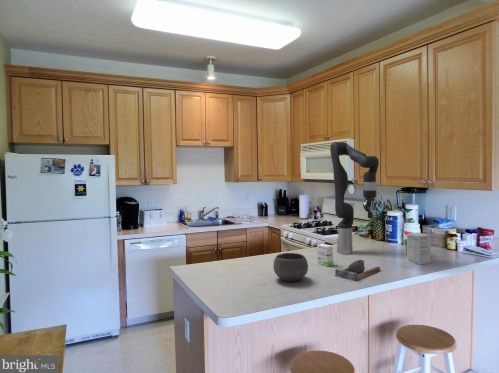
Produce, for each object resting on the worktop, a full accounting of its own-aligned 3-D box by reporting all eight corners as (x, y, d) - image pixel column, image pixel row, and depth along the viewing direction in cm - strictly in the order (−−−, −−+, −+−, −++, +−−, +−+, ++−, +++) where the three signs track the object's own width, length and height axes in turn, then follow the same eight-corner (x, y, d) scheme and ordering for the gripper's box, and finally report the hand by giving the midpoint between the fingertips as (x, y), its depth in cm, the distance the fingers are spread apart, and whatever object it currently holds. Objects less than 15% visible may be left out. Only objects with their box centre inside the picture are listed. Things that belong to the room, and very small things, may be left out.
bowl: (273, 274, 187) (272, 252, 186) (305, 274, 186) (305, 251, 186) (274, 285, 169) (273, 260, 169) (310, 285, 169) (310, 260, 168)
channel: (335, 275, 182) (335, 269, 182) (360, 266, 198) (360, 260, 198) (355, 281, 173) (355, 274, 172) (380, 270, 189) (380, 264, 189)
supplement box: (431, 263, 201) (431, 234, 200) (419, 265, 197) (419, 236, 196) (417, 259, 209) (417, 232, 208) (406, 261, 206) (406, 233, 205)
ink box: (333, 265, 202) (333, 245, 201) (327, 266, 199) (327, 247, 198) (322, 262, 209) (322, 243, 208) (317, 263, 206) (316, 244, 205)
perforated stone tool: (351, 278, 176) (351, 265, 176) (343, 276, 180) (342, 263, 180) (367, 272, 186) (367, 260, 185) (359, 270, 190) (358, 258, 190)
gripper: (369, 188, 210) (370, 216, 211) (358, 189, 201) (358, 218, 202) (381, 188, 204) (381, 217, 205) (369, 190, 196) (370, 220, 197)
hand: (370, 218), depth 204 cm, fingers closed
